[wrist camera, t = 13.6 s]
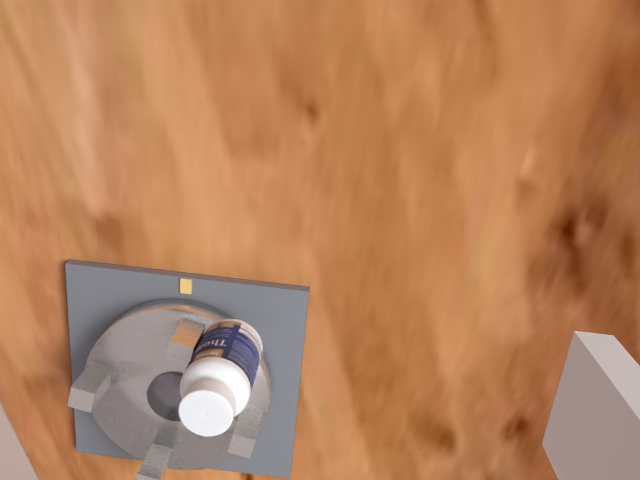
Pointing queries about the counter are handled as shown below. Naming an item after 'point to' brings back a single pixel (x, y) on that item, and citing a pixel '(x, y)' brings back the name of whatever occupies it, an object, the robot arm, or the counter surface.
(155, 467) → the grey shallow round piece
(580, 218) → the counter surface
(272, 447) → the grey square plate
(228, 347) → the pill bottle
